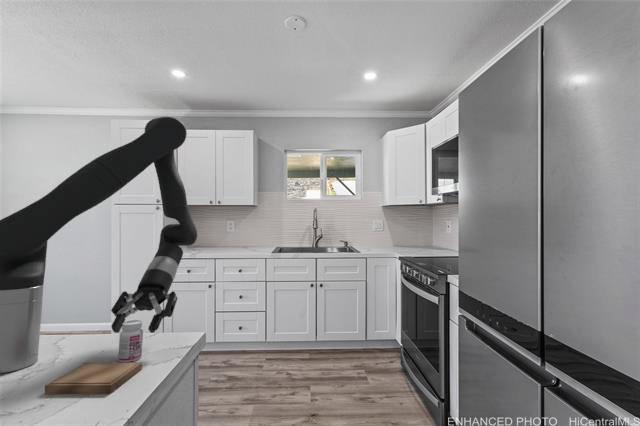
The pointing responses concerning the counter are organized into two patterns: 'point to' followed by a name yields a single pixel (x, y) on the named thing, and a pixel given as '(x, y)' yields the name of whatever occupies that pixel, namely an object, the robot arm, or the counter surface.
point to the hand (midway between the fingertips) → (133, 331)
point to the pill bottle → (130, 341)
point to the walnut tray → (94, 378)
